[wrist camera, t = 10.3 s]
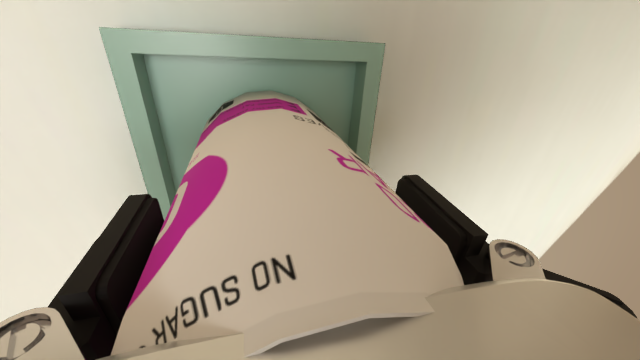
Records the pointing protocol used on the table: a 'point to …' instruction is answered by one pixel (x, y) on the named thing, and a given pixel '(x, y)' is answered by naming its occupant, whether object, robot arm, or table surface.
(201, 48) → the tray
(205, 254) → the supplement can
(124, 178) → the table surface
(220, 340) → the robot arm
